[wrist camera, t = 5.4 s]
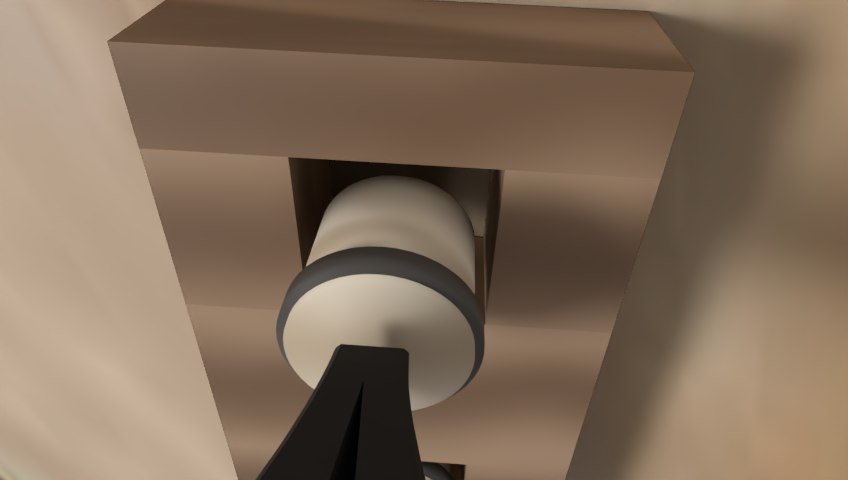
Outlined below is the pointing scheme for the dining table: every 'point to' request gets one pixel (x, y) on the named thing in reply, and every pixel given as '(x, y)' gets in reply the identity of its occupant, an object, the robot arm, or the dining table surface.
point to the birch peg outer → (389, 287)
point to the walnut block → (419, 145)
